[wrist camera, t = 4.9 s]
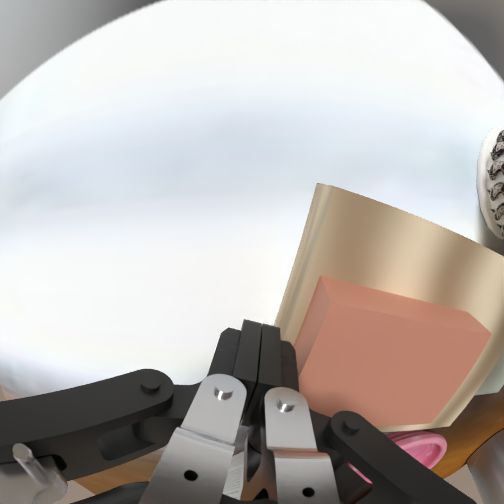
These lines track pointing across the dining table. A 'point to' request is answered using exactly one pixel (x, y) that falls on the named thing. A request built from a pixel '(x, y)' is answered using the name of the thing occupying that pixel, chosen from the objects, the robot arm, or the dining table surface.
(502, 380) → the mat
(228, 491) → the small box
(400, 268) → the panel
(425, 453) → the saucer
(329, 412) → the salmon pink brick
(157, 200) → the dining table surface
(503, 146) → the decorative candle
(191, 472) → the robot arm
